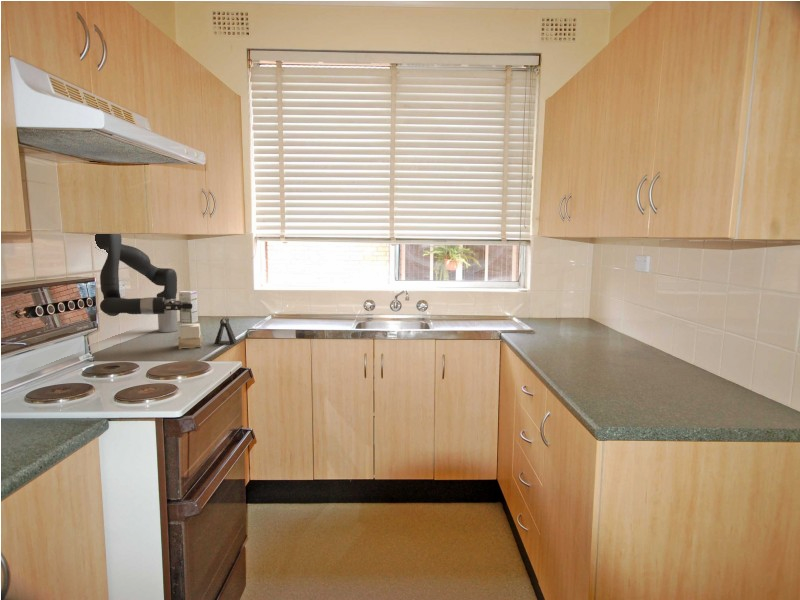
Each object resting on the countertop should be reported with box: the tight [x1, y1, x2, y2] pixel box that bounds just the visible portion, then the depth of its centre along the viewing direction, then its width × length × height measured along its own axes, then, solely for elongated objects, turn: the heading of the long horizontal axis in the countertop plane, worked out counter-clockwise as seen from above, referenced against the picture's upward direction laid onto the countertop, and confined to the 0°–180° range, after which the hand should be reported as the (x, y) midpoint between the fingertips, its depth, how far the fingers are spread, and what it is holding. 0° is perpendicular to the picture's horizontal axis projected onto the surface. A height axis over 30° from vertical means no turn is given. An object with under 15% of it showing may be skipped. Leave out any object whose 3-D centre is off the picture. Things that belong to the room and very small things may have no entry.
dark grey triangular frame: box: [214, 316, 237, 345], centre depth 227 cm, size 9×6×12 cm, turn 99°
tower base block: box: [177, 333, 203, 350], centre depth 220 cm, size 9×9×5 cm
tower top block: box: [178, 322, 201, 338], centre depth 220 cm, size 8×8×5 cm
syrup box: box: [178, 290, 199, 324], centre depth 218 cm, size 6×6×14 cm
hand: (193, 304), depth 218 cm, fingers closed on syrup box, 7 cm apart
